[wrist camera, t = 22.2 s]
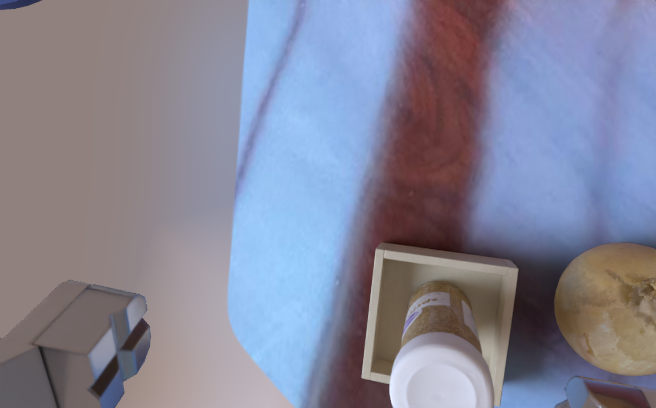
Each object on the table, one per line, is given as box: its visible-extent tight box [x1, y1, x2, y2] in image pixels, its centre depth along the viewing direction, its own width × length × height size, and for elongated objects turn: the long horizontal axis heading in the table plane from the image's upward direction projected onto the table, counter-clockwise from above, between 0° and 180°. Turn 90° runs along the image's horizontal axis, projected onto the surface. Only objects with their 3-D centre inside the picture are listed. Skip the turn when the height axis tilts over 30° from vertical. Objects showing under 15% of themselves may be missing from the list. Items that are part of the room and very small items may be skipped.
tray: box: [362, 243, 519, 406], centre depth 32 cm, size 9×9×3 cm
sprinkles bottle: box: [390, 281, 495, 408], centre depth 26 cm, size 5×5×14 cm
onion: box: [554, 242, 656, 376], centre depth 28 cm, size 8×8×7 cm
